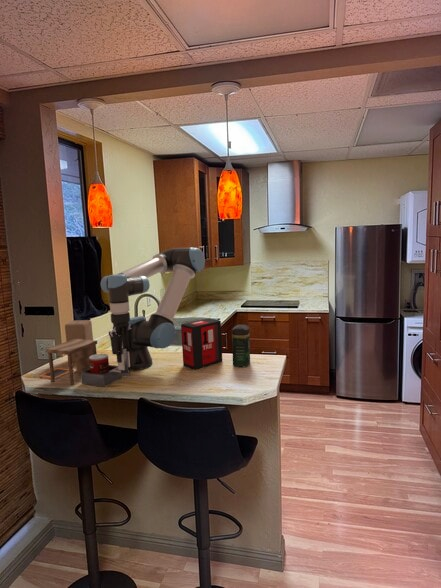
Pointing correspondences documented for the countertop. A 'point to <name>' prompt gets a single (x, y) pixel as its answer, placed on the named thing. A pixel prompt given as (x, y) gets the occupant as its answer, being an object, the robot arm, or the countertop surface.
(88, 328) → the wooden block
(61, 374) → the frame
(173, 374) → the countertop surface
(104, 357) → the canned food
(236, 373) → the countertop surface
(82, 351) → the small wooden table
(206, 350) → the cleaning product box
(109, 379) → the gray open tray
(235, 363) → the coffee jar
